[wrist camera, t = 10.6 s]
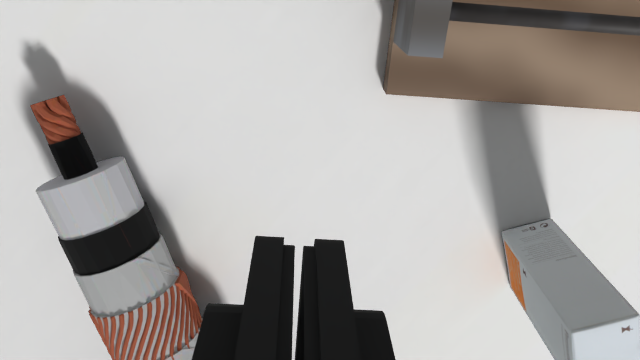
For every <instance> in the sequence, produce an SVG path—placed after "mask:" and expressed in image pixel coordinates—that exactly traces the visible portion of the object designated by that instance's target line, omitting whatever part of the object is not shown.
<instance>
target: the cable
mask: <svg viewBox="0 0 640 360" xmlns="http://www.w3.org/2000/svg"><path fill="white" fill-rule="evenodd" d="M30 106H31V109H32V111H33V113H34V115H35V117H36V119H37V121H38V122H39V123H40V126H41V128H42V130H43V132H44V134H45V135H46V139H47V141H48V143H49V144H48V145H49V147H50V150H51V152H52V154H53V156H54V158H55V161H56V163H57V165H58V167H59V169H60V172H61V174H62V175H61V176H59V177H56V178H54V179H52V180H50V181H48V182H46V183H44V184H43V185H41V186H40V187H38V188H37V189H36V192H37V194H38V196H39V198H40V200H41V202H42V204H43V206H44V208H45V210H46V212H47V214H48V216H49V218H50V220H51V222H52V224H53V226H54V228H55V229H56V231H57V233H58V235H59V236H58V239H59V242H60V244H61V246H62V248H63V250H64V252H65V254H66V256H67V258H68V260H69V262H70V264H71V266H72V268H73V272H74V275H75V277H76V280H77V282H78V284H79V286H80V288H81V290H82V292H83V294H84V296H85V298H86V300H87V302H88V304H89V306H90V307H89V308H90V309H91V310H89V311H88V312H89V313H90V314H89V315H90V317H91V319H92V321H93V323H94V324H95V326H96V328H97V330H98V332H99V334H100V336H101V338H102V340H103V342H104V344H105V345H106V347H107V350H108V352H109V354H110V355H111V358H112V360H192V356H193V352H194V349H195V345H196V342H197V338H198V334H199V331H200V327H201V323H202V320H203V319H202V317H201V315H200V311H199V307H198V305H197V303H196V301H195V299H194V297H193V295H192V292H191V289H190V285H189V282H188V278H187V275H186V274H185V273H184V271H181V269H179V267H176V266H175V265H174V262H173V260H172V257H171V255H170V253H169V250H168V248H167V246H166V243H165V241H164V238H163V236H162V234H161V233H160V232H159V231H158V230H157V228H156V225H155V223H154V220H153V218H152V216H151V213H150V211H149V208H148V206H147V204H146V202H145V201H143V199H142V197H141V194H140V192H139V190H138V187H137V185H136V183H135V181H134V178H133V176H132V174H131V171H130V169H129V167H128V164H127V162H126V160H125V158H124V157H122V156H121V157H113V158H110V159H106V160H103V161H99V162H96V161H95V159H94V157H93V155H92V152H91V150H90V148H89V146H88V143H87V141H86V139H85V137H84V135H83V133H81V131H80V129H79V127H78V126H77V125H76V120H75V117H74V115H73V114H72V113H71V108H70V106H69V104H68V102H67V100H66V98H65V96H64V95H62V96H58V97H55V98H52V99H49V100H46V101H42V102H39V103H36V104H33V105H30Z"/></svg>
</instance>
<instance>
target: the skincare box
mask: <svg viewBox="0 0 640 360" xmlns="http://www.w3.org/2000/svg"><path fill="white" fill-rule="evenodd" d="M502 237H503V242H504V248H505V254H506V260H507V267H508V275H509V282H510V288H511V289H512V291H513V292H514V294H515V296H516V297H517V299H518V301H519V302H520V304H521V306H522V307H523V309H524V310H525V312H526V314H527V315H528V317H529V319H530V320H531V322H532V324H533V325H534V327H535V328H536V330H537V332H538V333H539V335H540V337H541V338H542V340H543V342H544V343H545V345H546V346H547V348H548V350H549V351H550V353H551V355H552V356H553V358H554V359H555V360H640V316H639V314H638V313H637V311H636V310H635V309H634V308H633V307H632V306H631V305H630V304H629V303H628V301H627V300H626V299H625V298H624V297H623V296H622V295H621V294H620V293H619V292H618V291H617V290H616V288H615V287H614V286H613V285H612V284H611V283H610V282H609V281H608V280H607V279H606V278H605V277H604V275H603V274H602V273H601V272H600V271H599V270H598V269H597V268H596V267H595V266H594V265H593V264H592V262H591V261H590V260H589V259H588V258H587V257H586V256H585V255H584V254H583V253H582V252H581V250H580V249H579V248H578V247H577V246H576V245H575V244H574V243H573V242H572V241H571V239H570V238H569V237H568V236H567V235H566V234H565V233H564V232H563V231H562V230H561V229H560V227H559V226H558V225H557V224H556V223H555V222H554V221H553V220H552V219H547V220H543V221H539V222H535V223H532V224H528V225H524V226H521V227H516V228H512V229H508V230H504V231H502Z"/></svg>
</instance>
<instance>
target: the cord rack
mask: <svg viewBox="0 0 640 360" xmlns="http://www.w3.org/2000/svg"><path fill="white" fill-rule="evenodd" d="M383 90H384V91H385V93H386V94H392V95H406V96H421V97H435V98H449V99H464V100H478V101H492V102H507V103H521V104H535V105H550V106H564V107H579V108H593V109H607V110H622V111H636V112H640V0H395V1H394V9H393V16H392V24H391V32H390V39H389V47H388V55H387V62H386V70H385V77H384V85H383Z"/></svg>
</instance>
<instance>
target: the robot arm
mask: <svg viewBox="0 0 640 360" xmlns="http://www.w3.org/2000/svg"><path fill="white" fill-rule="evenodd" d="M294 253H295V246H294V245H284V237H266V236H256V237H255V242H254V248H253V253H252V259H251V265H250V271H249V277H248V283H247V289H246V295H245V301H244V305H234V304H211V303H209V304H208V305H207V307H206V309H205V313H204V316H203V320H202V323H201V327H200V331H199V334H198V338H197V342H196V345H195V349H194V352H193V356H192V360H292V325H293V289H294ZM295 360H395V356H394V352H393V347H392V343H391V339H390V334H389V330H388V326H387V321H386V317H385V314H384V313H383V311H373V310H354V309H353V302H352V295H351V288H350V281H349V274H348V267H347V260H346V253H345V246H344V241H343V240H324V239H315V242H314V246H304V247H303V259H302V272H301V285H300V299H299V312H298V325H297V338H296V352H295Z"/></svg>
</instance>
